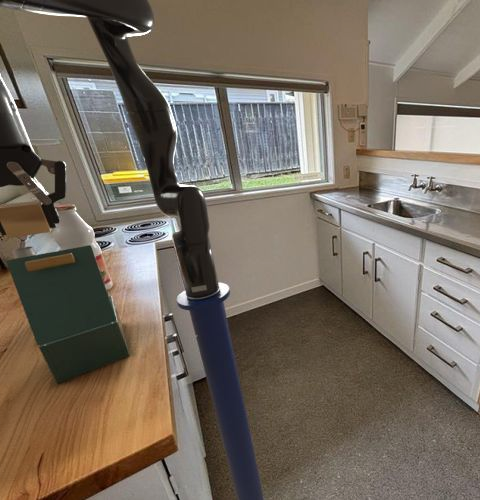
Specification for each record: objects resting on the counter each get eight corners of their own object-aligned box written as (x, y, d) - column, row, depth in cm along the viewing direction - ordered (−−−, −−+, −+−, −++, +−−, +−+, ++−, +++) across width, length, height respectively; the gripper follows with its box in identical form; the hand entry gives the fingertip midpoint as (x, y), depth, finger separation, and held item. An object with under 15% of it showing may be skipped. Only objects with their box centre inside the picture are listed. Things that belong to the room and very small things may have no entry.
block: (13, 232, 45) (0, 204, 43) (52, 226, 48) (41, 200, 46) (8, 238, 42) (-6, 208, 40) (50, 232, 45) (39, 203, 43)
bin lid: (6, 260, 51) (-4, 258, 47) (91, 245, 58) (88, 242, 54) (38, 345, 52) (31, 350, 48) (116, 320, 60) (116, 322, 55)
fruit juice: (118, 281, 98) (90, 201, 88) (106, 294, 89) (74, 207, 80) (84, 286, 95) (52, 203, 85) (69, 299, 87) (31, 210, 77)
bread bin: (60, 345, 66) (45, 313, 63) (122, 325, 73) (111, 295, 70) (57, 384, 55) (39, 347, 52) (129, 355, 63) (117, 322, 60)
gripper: (52, 115, 46) (89, 218, 52) (-101, 110, 37) (-35, 235, 43) (49, 111, 41) (90, 225, 47) (-130, 104, 32) (-50, 247, 38)
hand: (30, 229), depth 45 cm, fingers closed on block, 4 cm apart
